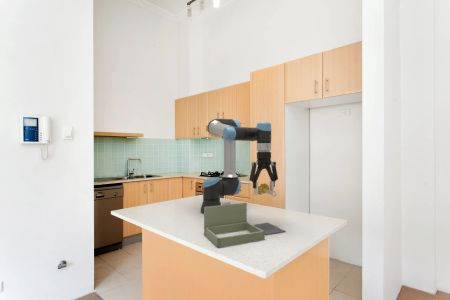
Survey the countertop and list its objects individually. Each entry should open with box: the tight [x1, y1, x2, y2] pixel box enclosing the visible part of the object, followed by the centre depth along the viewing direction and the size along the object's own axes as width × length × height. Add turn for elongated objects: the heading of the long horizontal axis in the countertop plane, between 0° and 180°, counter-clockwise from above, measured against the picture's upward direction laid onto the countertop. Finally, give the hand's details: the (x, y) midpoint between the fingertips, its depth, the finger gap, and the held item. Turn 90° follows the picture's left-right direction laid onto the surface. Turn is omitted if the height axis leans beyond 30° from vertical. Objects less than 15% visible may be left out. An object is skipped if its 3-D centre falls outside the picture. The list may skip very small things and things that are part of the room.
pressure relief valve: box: [258, 182, 277, 197], centre depth 129 cm, size 6×12×10 cm
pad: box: [253, 222, 286, 236], centre depth 132 cm, size 16×12×1 cm
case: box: [203, 201, 266, 249], centre depth 120 cm, size 18×24×15 cm
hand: (263, 193), depth 130 cm, fingers closed on pressure relief valve, 9 cm apart
